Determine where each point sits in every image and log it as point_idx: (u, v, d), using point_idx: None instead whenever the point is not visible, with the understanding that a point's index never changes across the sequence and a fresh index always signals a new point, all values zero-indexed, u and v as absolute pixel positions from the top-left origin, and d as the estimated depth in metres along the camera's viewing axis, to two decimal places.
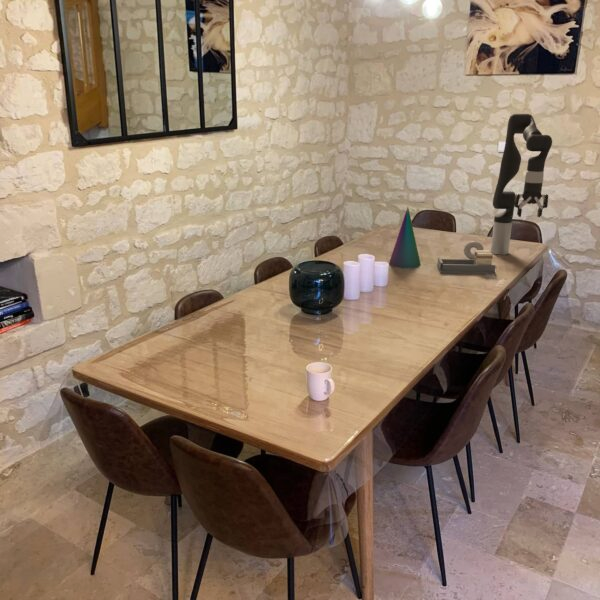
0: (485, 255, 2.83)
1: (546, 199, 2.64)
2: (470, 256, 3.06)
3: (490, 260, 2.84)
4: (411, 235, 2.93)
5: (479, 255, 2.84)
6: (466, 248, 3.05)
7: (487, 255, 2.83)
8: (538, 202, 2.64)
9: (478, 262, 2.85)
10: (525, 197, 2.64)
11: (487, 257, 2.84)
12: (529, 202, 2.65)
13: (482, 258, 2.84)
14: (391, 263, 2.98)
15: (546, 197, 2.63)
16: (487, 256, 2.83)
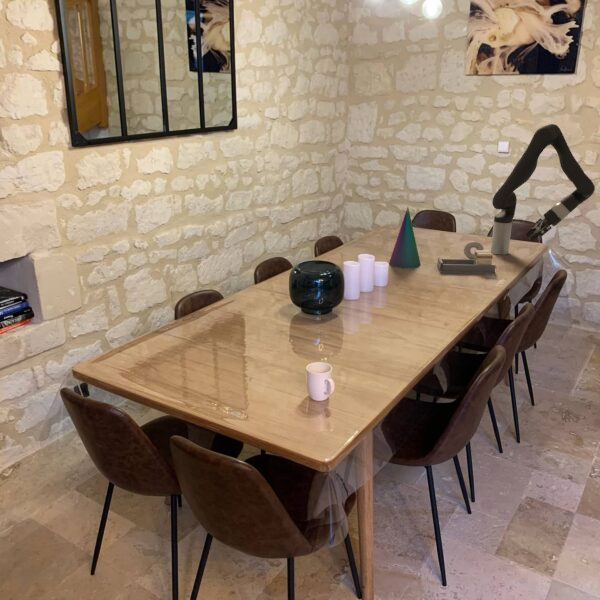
0: (485, 255, 2.83)
1: None
2: (470, 256, 3.06)
3: (490, 260, 2.84)
4: (411, 235, 2.93)
5: (479, 255, 2.84)
6: (466, 248, 3.05)
7: (487, 255, 2.83)
8: None
9: (478, 262, 2.85)
10: None
11: (487, 257, 2.84)
12: None
13: (482, 258, 2.84)
14: (391, 263, 2.98)
15: None
16: (487, 256, 2.83)
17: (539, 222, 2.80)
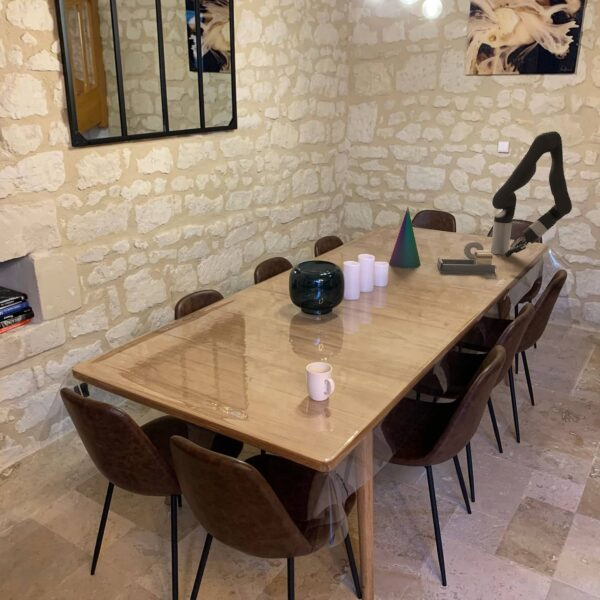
0: (485, 255, 2.83)
1: None
2: (470, 256, 3.06)
3: (490, 260, 2.84)
4: (411, 235, 2.93)
5: (479, 255, 2.84)
6: (466, 248, 3.05)
7: (487, 255, 2.83)
8: None
9: (478, 262, 2.85)
10: None
11: (487, 257, 2.84)
12: None
13: (482, 258, 2.84)
14: (391, 263, 2.98)
15: None
16: (487, 256, 2.83)
17: (518, 239, 2.83)
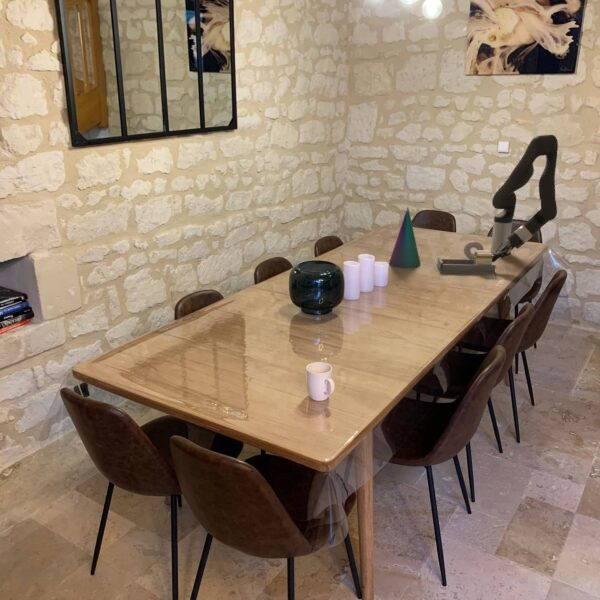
0: (485, 255, 2.83)
1: None
2: (470, 256, 3.06)
3: (490, 260, 2.84)
4: (411, 235, 2.93)
5: (479, 255, 2.84)
6: (466, 248, 3.05)
7: (487, 255, 2.83)
8: None
9: (478, 262, 2.85)
10: None
11: (487, 257, 2.84)
12: None
13: (482, 258, 2.84)
14: (391, 263, 2.98)
15: None
16: (487, 256, 2.83)
17: (504, 244, 2.85)
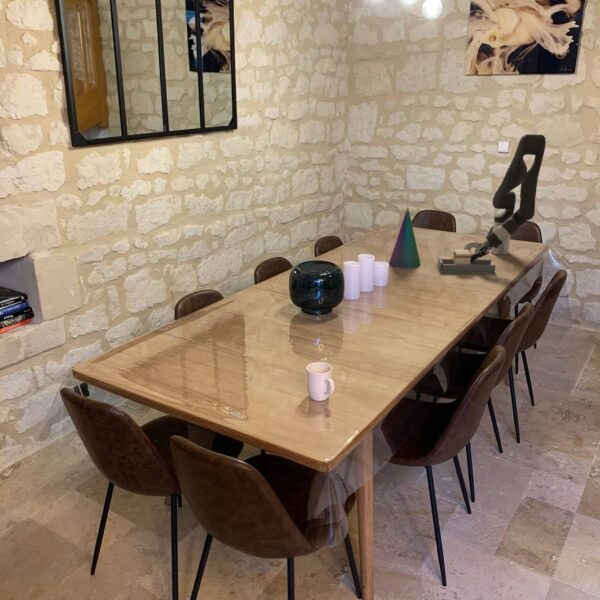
0: (463, 255, 2.84)
1: None
2: None
3: (468, 260, 2.85)
4: (411, 235, 2.93)
5: (457, 255, 2.84)
6: (466, 248, 3.05)
7: (465, 255, 2.84)
8: None
9: (457, 262, 2.86)
10: None
11: (465, 257, 2.85)
12: None
13: (461, 258, 2.85)
14: (391, 263, 2.98)
15: None
16: (465, 255, 2.84)
17: (482, 244, 2.86)
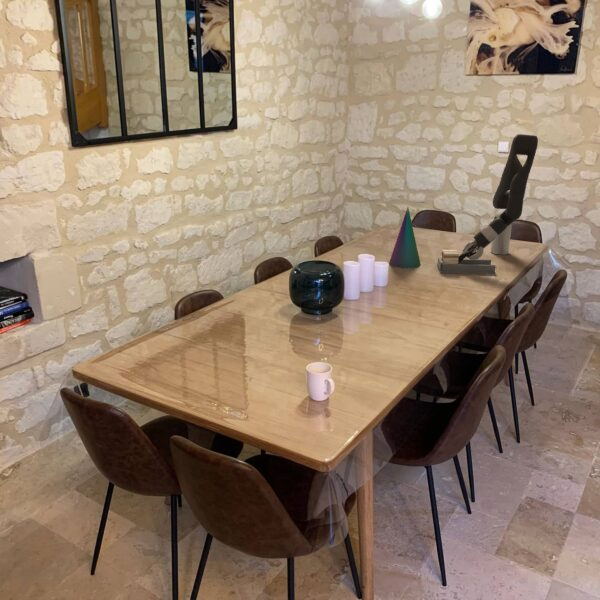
0: (451, 254, 2.85)
1: None
2: (470, 256, 3.06)
3: (456, 259, 2.85)
4: (411, 235, 2.93)
5: (445, 254, 2.85)
6: None
7: (453, 254, 2.85)
8: None
9: (444, 261, 2.86)
10: None
11: (453, 257, 2.85)
12: None
13: (448, 257, 2.85)
14: (391, 263, 2.98)
15: None
16: (453, 255, 2.85)
17: (470, 244, 2.86)
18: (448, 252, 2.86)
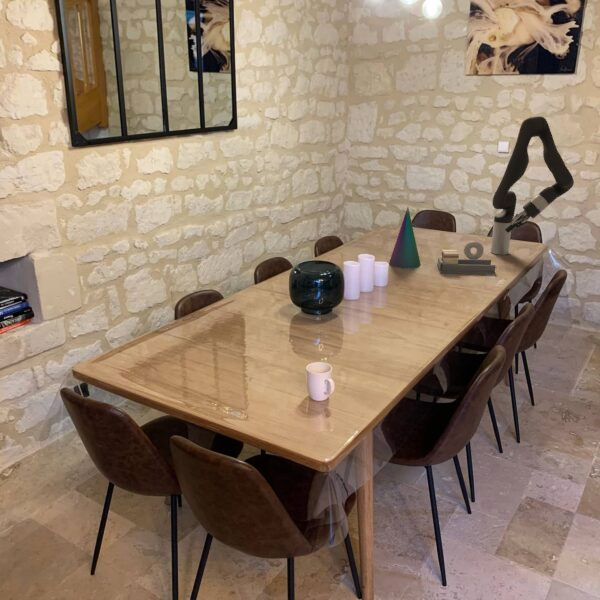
0: (451, 254, 2.85)
1: None
2: (470, 256, 3.06)
3: (456, 259, 2.85)
4: (411, 235, 2.93)
5: (445, 254, 2.85)
6: (466, 248, 3.05)
7: (453, 254, 2.85)
8: None
9: (444, 261, 2.86)
10: None
11: (453, 257, 2.85)
12: None
13: (448, 257, 2.85)
14: (391, 263, 2.98)
15: None
16: (453, 255, 2.85)
17: (519, 214, 2.79)
18: (448, 252, 2.86)
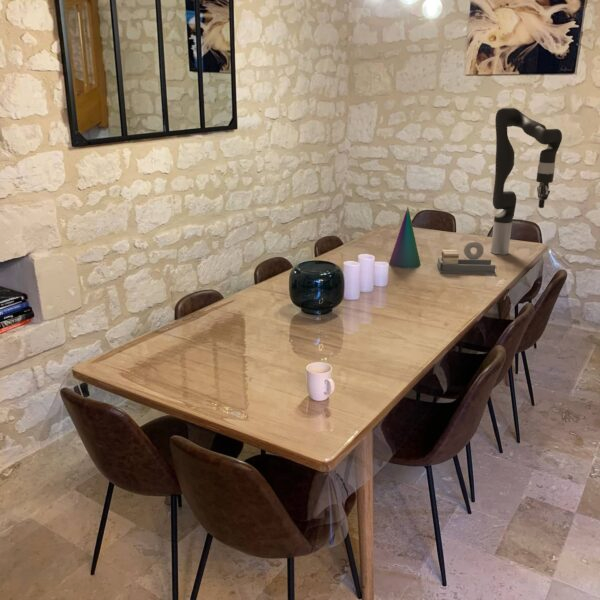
0: (451, 254, 2.85)
1: None
2: (470, 256, 3.06)
3: (456, 259, 2.85)
4: (411, 235, 2.93)
5: (445, 254, 2.85)
6: (466, 248, 3.05)
7: (453, 254, 2.85)
8: None
9: (444, 261, 2.86)
10: None
11: (453, 257, 2.85)
12: None
13: (448, 257, 2.85)
14: (391, 263, 2.98)
15: None
16: (453, 255, 2.85)
17: (539, 187, 2.86)
18: (448, 252, 2.86)
